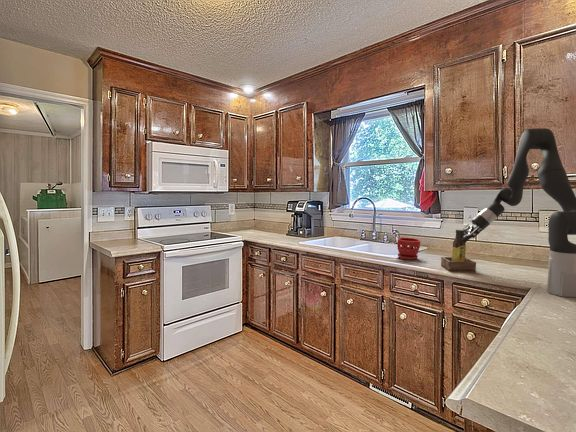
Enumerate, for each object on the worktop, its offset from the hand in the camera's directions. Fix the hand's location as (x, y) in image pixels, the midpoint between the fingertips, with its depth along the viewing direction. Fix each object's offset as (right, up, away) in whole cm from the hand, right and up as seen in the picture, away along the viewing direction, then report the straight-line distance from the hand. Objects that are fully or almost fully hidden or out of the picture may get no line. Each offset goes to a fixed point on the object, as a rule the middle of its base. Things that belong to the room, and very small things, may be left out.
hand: (459, 240), depth 171 cm
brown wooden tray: (0, -15, +1) cm, 15 cm away
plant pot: (-17, -13, +28) cm, 35 cm away
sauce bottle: (0, -14, +2) cm, 14 cm away
